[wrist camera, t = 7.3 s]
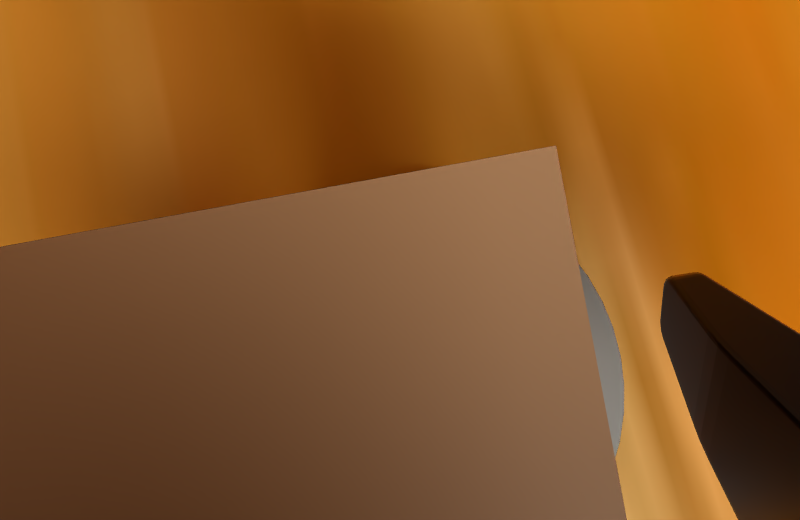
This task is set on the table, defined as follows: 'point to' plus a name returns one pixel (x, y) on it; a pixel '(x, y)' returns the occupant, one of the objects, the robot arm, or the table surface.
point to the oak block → (312, 359)
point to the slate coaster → (606, 359)
